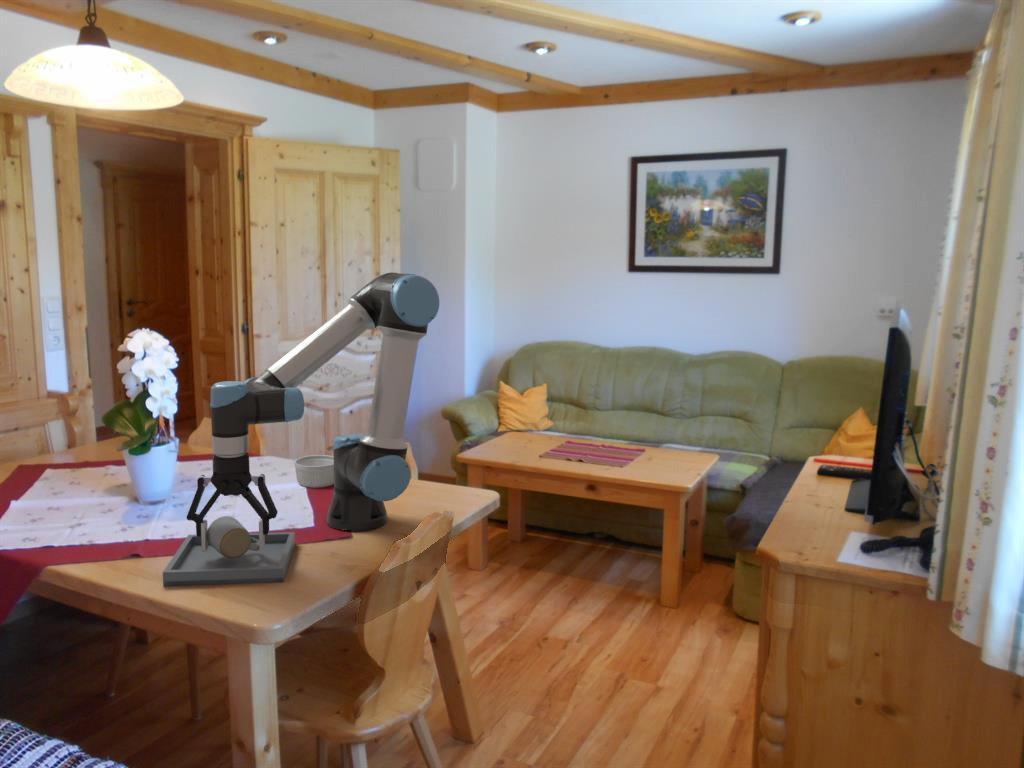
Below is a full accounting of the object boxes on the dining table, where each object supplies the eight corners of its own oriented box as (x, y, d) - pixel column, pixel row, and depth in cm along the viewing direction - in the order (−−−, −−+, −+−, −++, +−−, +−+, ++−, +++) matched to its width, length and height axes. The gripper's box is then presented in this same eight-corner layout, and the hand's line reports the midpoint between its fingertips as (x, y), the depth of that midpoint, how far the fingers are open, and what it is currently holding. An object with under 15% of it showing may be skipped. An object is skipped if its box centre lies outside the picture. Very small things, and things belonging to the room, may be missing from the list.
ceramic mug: (220, 563, 170) (220, 529, 169) (206, 552, 176) (206, 518, 175) (267, 553, 177) (267, 520, 176) (252, 542, 183) (252, 510, 182)
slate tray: (295, 544, 189) (294, 532, 189) (283, 582, 168) (283, 568, 167) (188, 547, 185) (188, 534, 185) (163, 586, 164) (162, 572, 164)
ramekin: (316, 492, 230) (316, 468, 229) (284, 483, 237) (284, 461, 236) (349, 481, 241) (348, 459, 240) (318, 474, 248) (317, 452, 247)
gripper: (289, 448, 178) (291, 541, 182) (177, 449, 174) (181, 544, 178) (285, 456, 171) (287, 553, 174) (168, 458, 167) (172, 557, 171)
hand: (233, 549), depth 176 cm, fingers closed on ceramic mug, 11 cm apart
